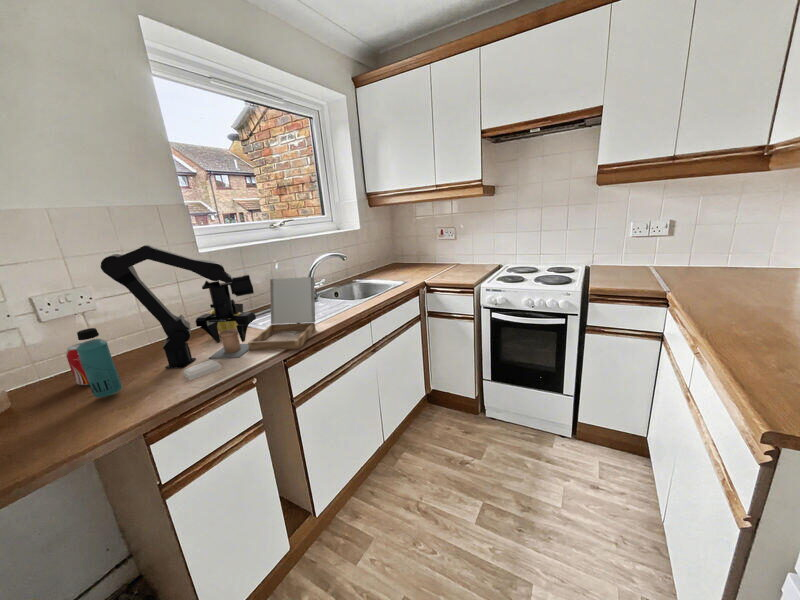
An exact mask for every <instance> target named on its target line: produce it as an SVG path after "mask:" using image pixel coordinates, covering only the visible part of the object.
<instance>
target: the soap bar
mask: <svg viewBox="0 0 800 600" xmlns="http://www.w3.org/2000/svg"><path fill="white" fill-rule="evenodd" d="M221 369H222V365H221V364H220V363H219V362H217V361H216V360H213V359H209V360H206V361H204V362H203V361H202V362H201V363H198V364H196V365H193V366H190V367H188V368H186V369H184V370H183V376H184V377H185V378H186V379H188V380H189V381H192V380H194V379H197V378H200V377H203V376H205V375H208V374H210V373H213V372H216V371H218V370H221Z"/></svg>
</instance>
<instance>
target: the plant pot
mask: <svg viewBox="0 0 800 600" xmlns="http://www.w3.org/2000/svg"><path fill="white" fill-rule="evenodd" d="M209 314H215V312H214V309H212V310H211V311H210V312H209ZM239 314H240V312H238V314H235V316H236V315H239ZM229 319H231V318H229ZM237 325H238V324H237V323H236V321H227V322H218V325H217V329H218V333H220V332H222V331H224V330H227V329H237V327H236V326H237Z"/></svg>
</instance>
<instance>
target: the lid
mask: <svg viewBox="0 0 800 600" xmlns="http://www.w3.org/2000/svg"><path fill="white" fill-rule="evenodd" d="M269 285H270V325H272V324H296V323H316V299H315V296H316V295H315V293H316V292H315V277H314V276H307V277H306V276H302V277H287V278H274V279H273V278H270V281H269Z"/></svg>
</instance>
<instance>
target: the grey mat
mask: <svg viewBox="0 0 800 600" xmlns="http://www.w3.org/2000/svg"><path fill="white" fill-rule="evenodd" d="M240 346H241V349H240V350H239V351H237V352H234V353H225V351H224V347H222V348H220V349H219V350H217V351H216V352H214V353H213V354H212V355H211V356H209V357H208V359H209V360H213V359H237V358H238V359H239V358H242V356H244V355H245V354H246V353H247V352H248V351H249V346H248V343H240Z"/></svg>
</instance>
